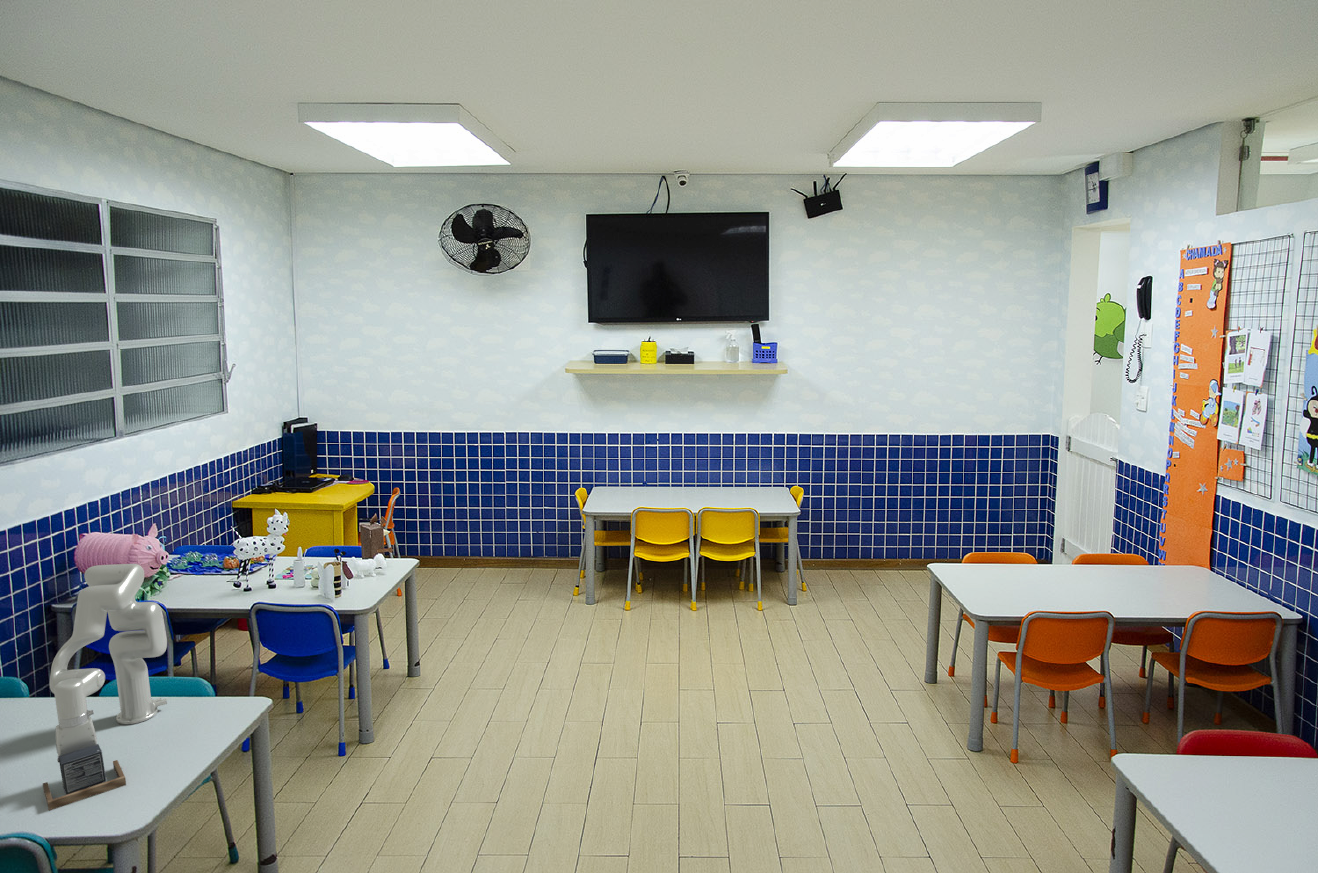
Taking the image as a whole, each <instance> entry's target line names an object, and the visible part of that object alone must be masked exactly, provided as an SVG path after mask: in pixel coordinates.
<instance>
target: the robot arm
mask: <svg viewBox="0 0 1318 873" xmlns="http://www.w3.org/2000/svg"><path fill="white" fill-rule="evenodd" d="M83 576H84V580H85V583H86V584H87V586H86V587H85V588H83V589H81V590H80V592H79V593H78V596H77V602H76V609H75V615H74V623H73V631H72V635H71V637H70V638H69V639H68V640H67V641H66V642H65V643H64V644H63V645H62V646H61V648H60V649H59V650H58V651H57V653H56V655H55V657H54V658H53V661H52V664H51V669H50V675H49V689H50V691H51V693H52V694H54V701H55V705H56V714H57V715H56V716H57V721H58V724H57V725H56V727H55V748H56V753H57V759H56V760H57V763H59V756H62V755H65V754H69V753H72V752H75V751H79V750H82V749H85V748H88V747H91V746H94V745H97V744H98V739H97V734H96V729H95V726H94V723H93V719H92V718H91V716H92V715H94V709H91V710H88V705H87V697H89V696H90V695H93V694H94V693H96V692H98V691H99V690H100V689H101V688H102V687H103V685H104V683H105V681H106V674H105V672H104V671H103V670H102V669H100V668H95V667H94V668H93V667H92V668H78V669H68V664H69V662H70V660H71V658H72V657H73V656H74V655H75V653H77V652H78V651H79V650H81V649H82V648H83V647H85V646H88V645H90V644H91V643H93V642H96V641H98V640H101V639H102V638H103V637H104V636H105V631H106V624H107V616H108V621H109V626H111V629H113V630H114V631H116V632H117V631H118V632H119V633H116V634H115V635H112V637H111V638H110V640H109V643H108V650H109V653H110V657H111V659H112V661H113V665H114V671H115V679H116V685H117V686H116V687H117V693H118V701H119V709H120V712H119V713H118V714H117V715H116V717H115V719H116V722H117V723H118V724H120V725H134V724H139V723H142V722H145V721H147V720H150V719H151V718H153V717H155V715H156V714H157V713H158V712H159V711H158V707H160V706H165V705H167V704H168V699H167V698H164V699H162V698H161V697H160V698H156V699H153V698H152V695H151V694H152V693H151V686H150V679H149V670H148V666H147V662H146V661H145V660H144V659H145V658H146V659H147V658H156V657H157V658H158V657H161V656H162V655H164V654H165V652H166V650H167V648H168V639H167V632H166V626H165V620H164V614H163V610H162V607H161V606H160V605H159V603H157V602H154V601H142V602H141V601H139V602H138V601H136V595H137V594H138V592H139V590H140V589H141V587H142V585H143V583H144V580H145V570H144V568H143V566H141V565H140V564H138V563H123V564H122V563H120V564H98V565H93V566H90V567H88V568H87V569H86V570H85V572H84V575H83Z"/></svg>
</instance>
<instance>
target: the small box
mask: <svg viewBox="0 0 1318 873" xmlns="http://www.w3.org/2000/svg"><path fill="white" fill-rule="evenodd" d="M58 763H59V769H60V770H59V771H60V773H61V774H60V775H61V781H62V788H63V790H64V793H65V795H68V794H71V793H74V792H77V791H80V790H83V789H86V788H89V787H92V786H95V785H98V784H101V783H104V782H107V781H108V780H107V776H106V770H105V763H104V756H103V750H102V748H101V746H100V745H99V743H97V745H94V746H91V747H88V748H85V749H82V750H79V751H75V752H72V753H69V754H65V755H62V756H59V762H58Z"/></svg>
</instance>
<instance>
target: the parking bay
mask: <svg viewBox="0 0 1318 873" xmlns="http://www.w3.org/2000/svg"><path fill="white" fill-rule="evenodd" d="M112 765H113V770H114V772H115V775H116V776H117V777H116V778H114V779H113V778H112V779H111V780H106V782H103V783H100V784H98V785H95V786H92V787H89V788H86V789H83V790H80V791H77V792H74V793H71V794H68V795H66V794H65V795H61V796H58V797H55V798H53V797H52V793H51V790H50V789H51V788H50V786H49V783H48V781H47V782H44V783H42V788H43V793H44V798H45V800H46V804H47V808H48V811H52V810H55V809H58V808H61V807H64V806H68V805H70V804H73V803H76V802H79V801H81V800H82V801H84V800H85V799H88V798H92V797H94V796H98V795H99V794H103V793H107V792H109V791H112V790H114V789H118V788H121V787H124V786H127V781H126V776H125V774H124V771H123V769H122V767H121V765H120V763H119V760H118V759H115V760H114V761H112Z"/></svg>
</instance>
